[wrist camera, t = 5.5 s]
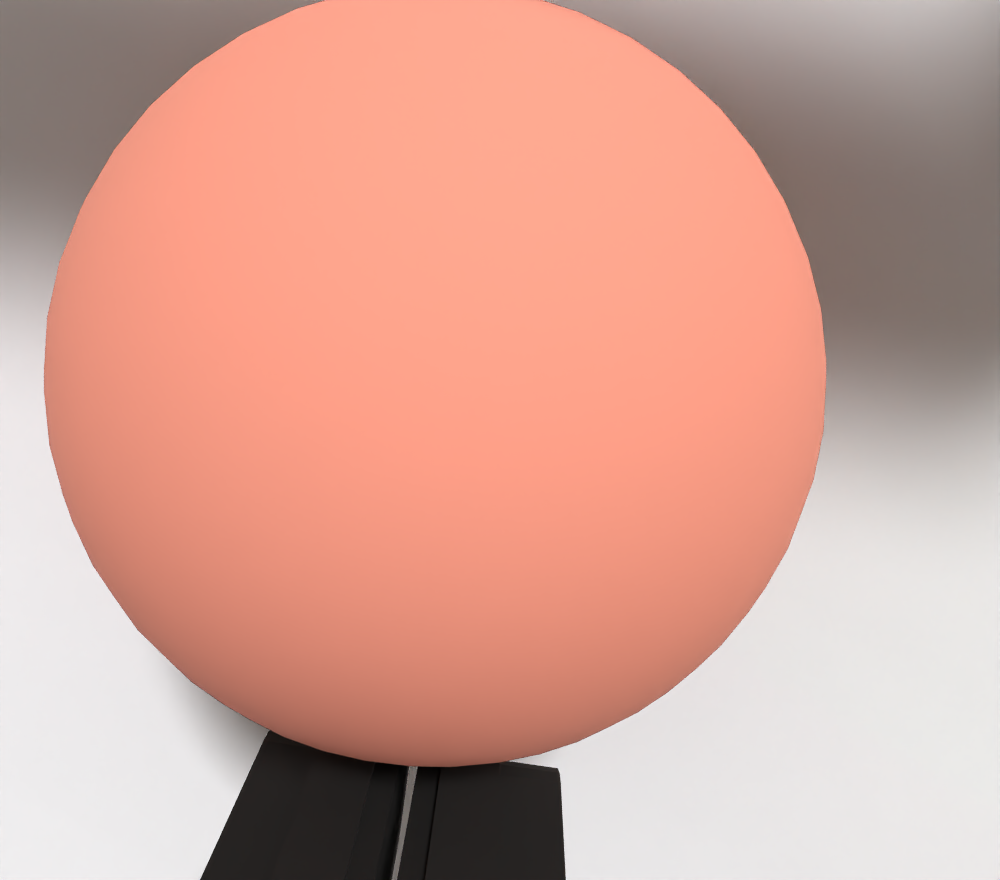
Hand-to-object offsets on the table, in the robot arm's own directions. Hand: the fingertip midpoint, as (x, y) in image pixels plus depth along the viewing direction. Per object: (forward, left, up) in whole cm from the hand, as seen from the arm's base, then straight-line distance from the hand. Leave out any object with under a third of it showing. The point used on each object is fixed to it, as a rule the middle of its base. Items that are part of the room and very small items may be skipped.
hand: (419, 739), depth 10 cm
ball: (+5, 0, +1) cm, 5 cm away
